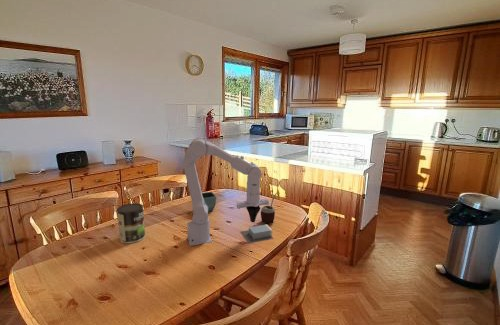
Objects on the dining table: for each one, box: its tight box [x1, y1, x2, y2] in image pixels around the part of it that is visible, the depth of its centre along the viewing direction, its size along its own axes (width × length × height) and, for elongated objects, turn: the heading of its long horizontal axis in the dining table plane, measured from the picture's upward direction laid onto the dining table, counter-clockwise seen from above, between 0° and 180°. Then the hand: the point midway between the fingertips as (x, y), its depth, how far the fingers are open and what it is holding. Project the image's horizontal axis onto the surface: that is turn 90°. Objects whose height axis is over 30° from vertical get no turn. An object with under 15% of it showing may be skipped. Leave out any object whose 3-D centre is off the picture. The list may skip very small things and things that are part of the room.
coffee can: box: [116, 202, 146, 244], centre depth 112 cm, size 10×10×14 cm
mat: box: [239, 229, 275, 244], centre depth 117 cm, size 12×11×1 cm
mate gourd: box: [260, 192, 278, 225], centre depth 129 cm, size 8×8×15 cm
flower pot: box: [202, 191, 217, 212], centre depth 143 cm, size 9×9×9 cm
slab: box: [248, 223, 273, 239], centre depth 117 cm, size 3×6×9 cm
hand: (252, 221), depth 115 cm, fingers closed
